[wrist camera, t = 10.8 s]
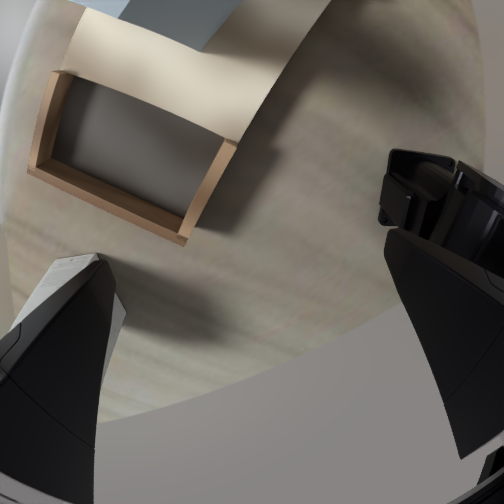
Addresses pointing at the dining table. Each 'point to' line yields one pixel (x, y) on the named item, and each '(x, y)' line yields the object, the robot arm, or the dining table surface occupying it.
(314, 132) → the dining table surface
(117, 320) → the small box
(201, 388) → the dining table surface
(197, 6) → the block
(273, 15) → the box
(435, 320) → the robot arm
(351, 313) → the dining table surface
